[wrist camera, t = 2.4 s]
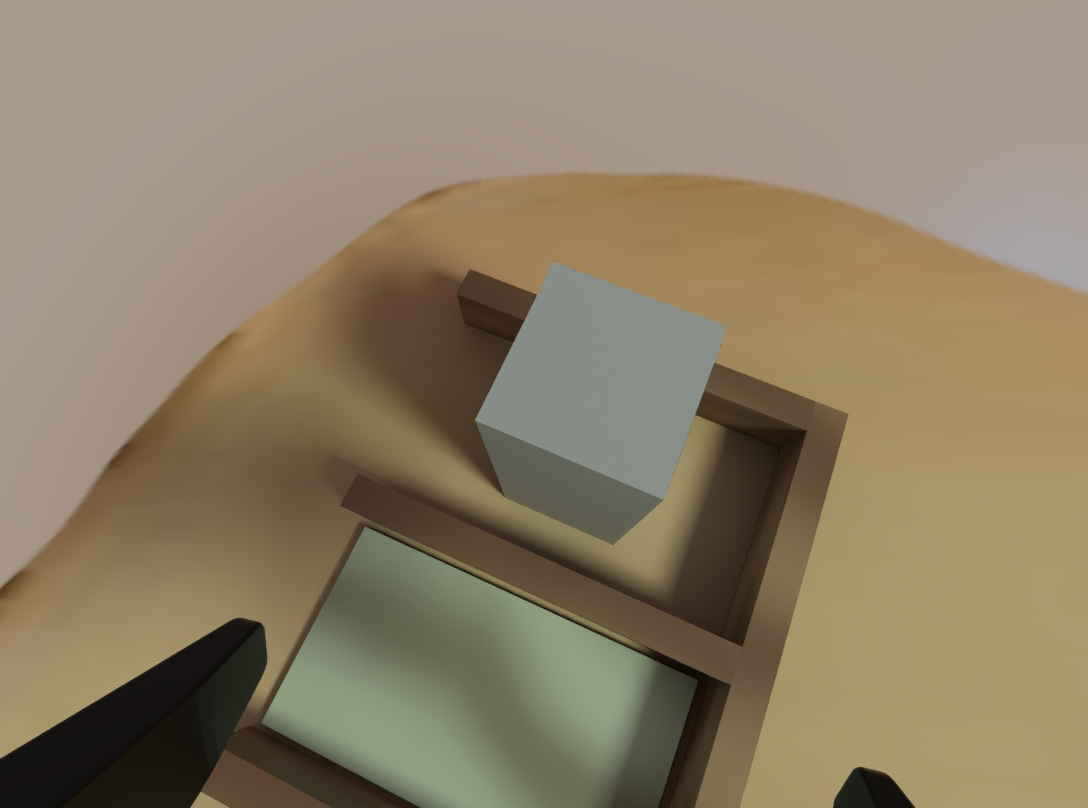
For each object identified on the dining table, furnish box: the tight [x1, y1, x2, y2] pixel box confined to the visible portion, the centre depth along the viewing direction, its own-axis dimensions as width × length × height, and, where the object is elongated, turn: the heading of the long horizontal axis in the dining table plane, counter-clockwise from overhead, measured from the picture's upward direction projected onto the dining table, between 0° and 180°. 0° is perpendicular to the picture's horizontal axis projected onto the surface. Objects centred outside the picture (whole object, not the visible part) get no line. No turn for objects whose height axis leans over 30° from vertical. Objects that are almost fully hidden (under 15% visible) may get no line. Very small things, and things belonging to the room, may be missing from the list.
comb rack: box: [201, 269, 848, 808], centre depth 20 cm, size 19×15×2 cm
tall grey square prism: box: [475, 262, 727, 545], centre depth 18 cm, size 4×4×10 cm
